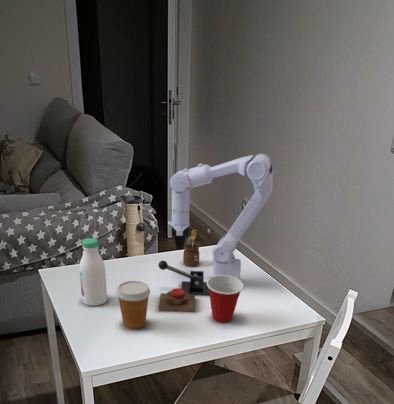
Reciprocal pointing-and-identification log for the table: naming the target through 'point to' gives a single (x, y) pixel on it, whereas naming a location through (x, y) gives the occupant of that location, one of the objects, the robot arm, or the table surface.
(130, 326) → the disposable coffee cup
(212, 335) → the table surface
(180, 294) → the button
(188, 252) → the utensil holder
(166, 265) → the lever
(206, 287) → the bracket
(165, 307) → the button block
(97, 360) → the table surface
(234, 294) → the plastic cup
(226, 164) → the robot arm
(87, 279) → the milk bottle
